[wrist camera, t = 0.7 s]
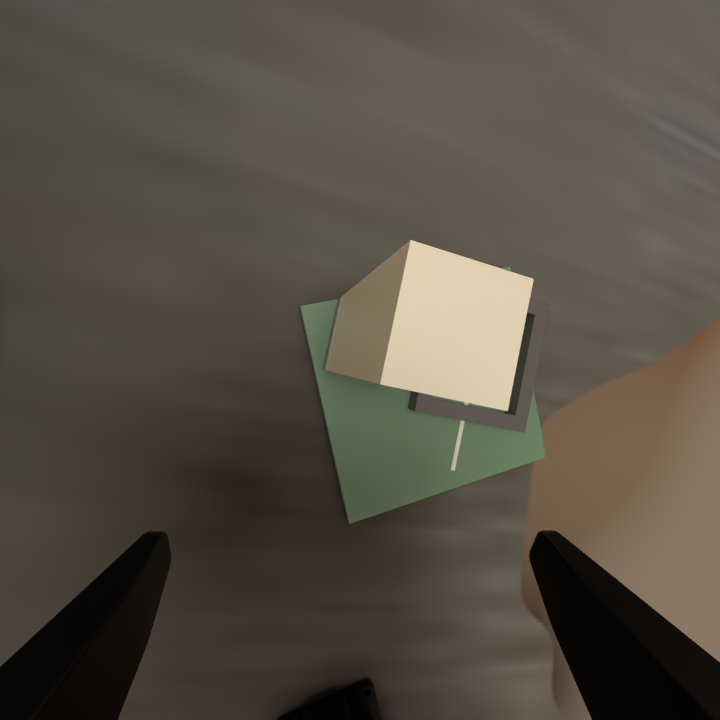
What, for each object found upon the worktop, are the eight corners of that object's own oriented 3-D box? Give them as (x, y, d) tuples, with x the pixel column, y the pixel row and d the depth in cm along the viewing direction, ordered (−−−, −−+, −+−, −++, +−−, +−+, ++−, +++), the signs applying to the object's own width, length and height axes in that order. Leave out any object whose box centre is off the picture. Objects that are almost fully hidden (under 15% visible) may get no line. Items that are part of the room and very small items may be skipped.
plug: (391, 384, 24) (508, 413, 12) (322, 370, 23) (378, 385, 11) (407, 305, 24) (539, 257, 12) (340, 287, 23) (414, 215, 11)
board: (555, 448, 28) (577, 455, 26) (346, 518, 24) (353, 532, 22) (521, 261, 27) (541, 254, 25) (298, 303, 23) (300, 298, 21)
